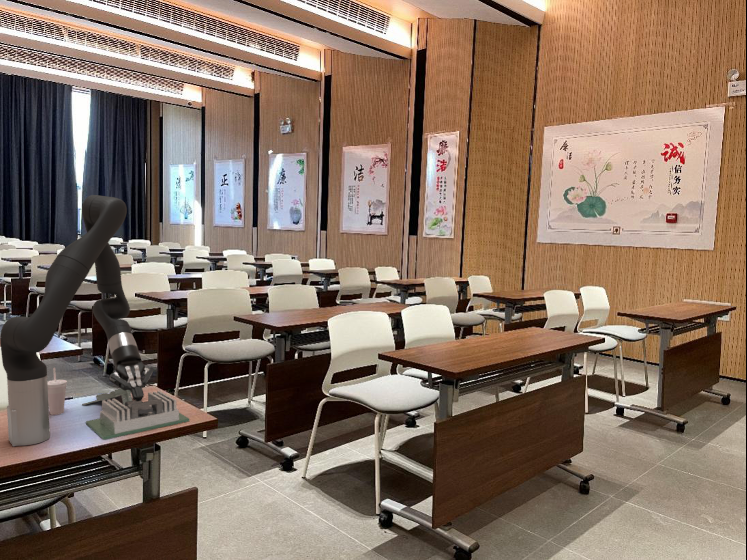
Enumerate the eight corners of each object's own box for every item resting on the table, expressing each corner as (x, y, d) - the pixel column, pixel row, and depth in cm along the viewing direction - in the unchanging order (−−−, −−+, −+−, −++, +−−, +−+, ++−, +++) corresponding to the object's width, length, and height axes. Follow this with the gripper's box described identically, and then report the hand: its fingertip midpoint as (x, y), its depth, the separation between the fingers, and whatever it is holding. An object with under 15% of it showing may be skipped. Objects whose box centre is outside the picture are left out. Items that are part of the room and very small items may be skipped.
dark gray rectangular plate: (124, 405, 174) (138, 414, 166) (124, 401, 174) (138, 410, 166) (139, 402, 177) (153, 411, 168) (139, 399, 177) (153, 407, 168)
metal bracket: (145, 382, 197) (107, 393, 184) (149, 399, 197) (111, 411, 184) (116, 388, 204) (77, 399, 190) (120, 405, 203) (81, 417, 190)
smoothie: (64, 408, 186) (62, 364, 185) (71, 413, 181) (69, 368, 180) (42, 413, 181) (40, 368, 180) (49, 417, 177) (46, 371, 176)
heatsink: (103, 439, 159) (102, 410, 158) (85, 423, 171) (84, 396, 171) (189, 421, 174) (188, 394, 173) (167, 407, 187) (166, 383, 186)
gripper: (103, 346, 172) (118, 396, 164) (149, 341, 181) (165, 388, 172) (99, 361, 177) (113, 410, 168) (143, 355, 185) (159, 402, 177)
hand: (139, 399), depth 170 cm, fingers closed
